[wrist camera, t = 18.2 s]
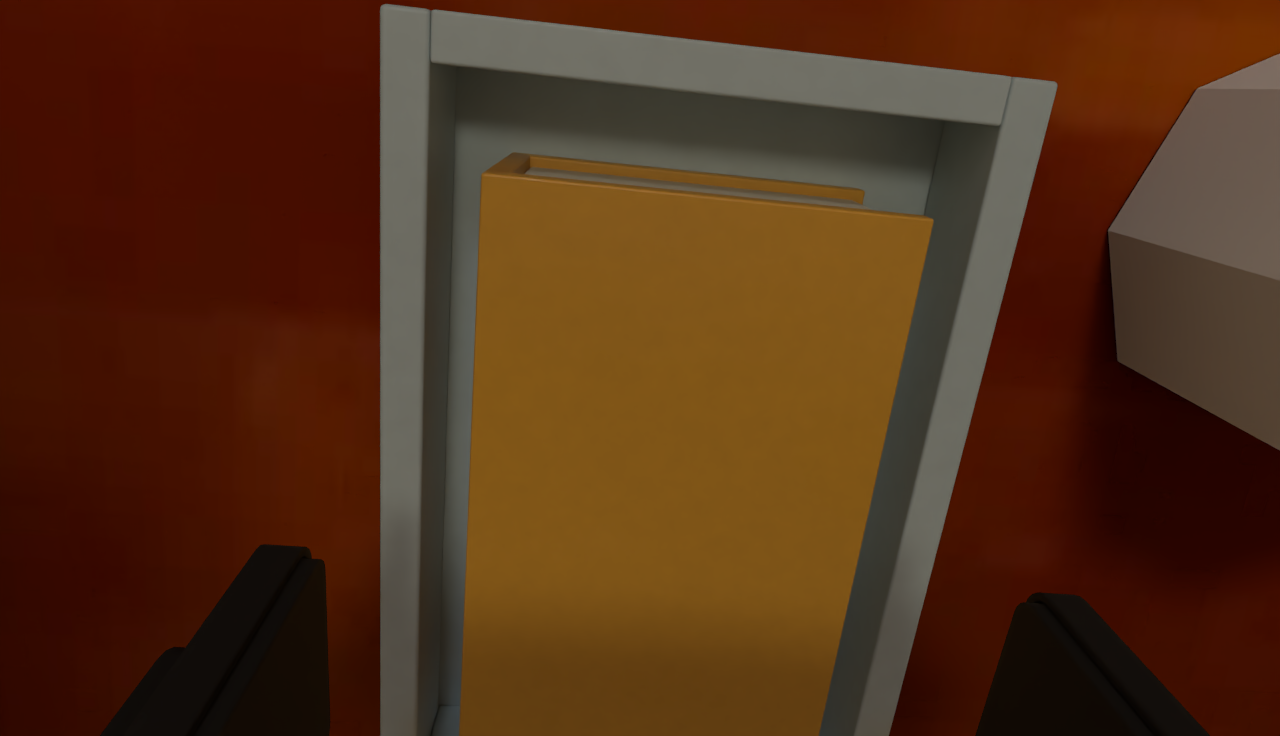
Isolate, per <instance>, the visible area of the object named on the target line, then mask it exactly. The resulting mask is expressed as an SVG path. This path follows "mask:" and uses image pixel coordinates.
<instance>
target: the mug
mask: <svg viewBox="0 0 1280 736" xmlns="http://www.w3.org/2000/svg"><path fill="white" fill-rule="evenodd" d="M1108 237H1109V251H1110V265H1111V279H1112V292H1113V306H1114V320H1115V334H1116V348H1117V361H1118V362H1120V363H1122V364H1124V365H1126V366H1127V367H1129V368H1131V369H1133V370H1135V371H1136V372H1138V373H1140V374H1142V375H1144V376H1145V377H1147V378H1149V379H1151V380H1153V381H1154V382H1156V383H1158V384H1160V385H1162V386H1163V387H1165V388H1167V389H1169V390H1171V391H1172V392H1174V393H1176V394H1178V395H1180V396H1182V397H1183V398H1185V399H1187V400H1189V401H1191V402H1192V403H1194V404H1196V405H1198V406H1200V407H1201V408H1203V409H1205V410H1207V411H1209V412H1210V413H1212V414H1214V415H1216V416H1218V417H1219V418H1221V419H1223V420H1225V421H1227V422H1229V423H1230V424H1232V425H1234V426H1236V427H1238V428H1239V429H1241V430H1243V431H1245V432H1247V433H1249V434H1250V435H1252V436H1254V437H1256V438H1258V439H1260V440H1261V441H1263V442H1265V443H1267V444H1269V445H1271V446H1272V447H1274V448H1276V449H1278V450H1280V54H1278V55H1275V56H1273V57H1271V58H1268V59H1266V60H1264V61H1261V62H1259V63H1256V64H1254V65H1252V66H1249V67H1247V68H1245V69H1242V70H1240V71H1237V72H1235V73H1233V74H1230V75H1228V76H1226V77H1223V78H1221V79H1219V80H1216V81H1214V82H1211V83H1209V84H1207V85H1204V86H1202V87H1200V88H1197V89H1196V91H1195V93H1194V94H1193V96H1192V97H1191V99H1190V100H1189V102H1188V104H1187V105H1186V107H1185V108H1184V110H1183V112H1182V113H1181V115H1180V116H1179V118H1178V120H1177V121H1176V123H1175V124H1174V126H1173V128H1172V129H1171V131H1170V132H1169V134H1168V136H1167V137H1166V139H1165V140H1164V142H1163V144H1162V145H1161V147H1160V148H1159V150H1158V151H1157V153H1156V155H1155V156H1154V158H1153V159H1152V161H1151V163H1150V164H1149V166H1148V167H1147V169H1146V171H1145V172H1144V174H1143V175H1142V177H1141V179H1140V180H1139V182H1138V183H1137V185H1136V187H1135V188H1134V190H1133V191H1132V193H1131V194H1130V196H1129V198H1128V199H1127V201H1126V202H1125V204H1124V206H1123V207H1122V209H1121V210H1120V212H1119V214H1118V215H1117V217H1116V218H1115V220H1114V222H1113V223H1112V225H1111V226H1110V228H1109V230H1108Z"/></svg>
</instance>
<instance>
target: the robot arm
mask: <svg viewBox="0 0 1280 736" xmlns="http://www.w3.org/2000/svg"><path fill="white" fill-rule="evenodd" d="M329 731H330V702H329V671H328V639H327V607H326V576H325V564H324V561H323V560H321V559H312V558H311V553H310V550H309V549H308V548H307V547H297V546H281V545H265V544H264V545H260V546H259V547H258V548H257V549H256V550H255V552H254V553H253V555H252V556H251V557H250V559H249V560H248V562H247V563H246V564H245V566H244V567H243V568H242V570H241V571H240V573H239V574H238V575H237V577H236V578H235V580H234V581H233V582H232V584H231V585H230V587H229V588H228V589H227V591H226V592H225V594H224V595H223V596H222V598H221V599H220V601H219V602H218V603H217V605H216V606H215V608H214V609H213V610H212V612H211V613H210V614H209V616H208V617H207V619H206V620H205V621H204V623H203V624H202V626H201V627H200V628H199V630H198V631H197V633H196V634H195V635H194V637H193V638H192V640H191V641H190V642H189V644H188V645H187V647H186V648H181V647H173V648H171V649H169V650H166V651H165V652H164V653H163V654H162V655H161V656H160V657H159V658H158V659H157V660H156V662H155V663H154V664H153V666H152V667H151V668H150V670H149V671H148V672H147V674H146V675H145V676H144V678H143V679H142V680H141V682H140V683H139V684H138V686H137V687H136V688H135V690H134V691H133V692H132V694H131V695H130V696H129V698H128V699H127V700H126V702H125V703H124V704H123V706H122V707H121V708H120V710H119V711H118V712H117V714H116V715H115V716H114V718H113V719H112V720H111V722H110V723H109V724H108V726H107V727H106V728H105V730H104V731H103V732H102V734H101V735H100V736H329ZM976 736H1210V735H1209V734H1208V733H1207V732H1206V731H1205V730H1204V729H1203V728H1202V727H1201V725H1200V724H1199V723H1198V722H1197V721H1196V720H1195V719H1194V718H1193V717H1192V716H1191V715H1190V714H1189V712H1188V711H1187V710H1186V709H1185V708H1184V707H1183V706H1182V705H1181V704H1180V703H1179V702H1178V700H1177V699H1176V698H1175V697H1174V696H1173V695H1172V694H1171V693H1170V692H1169V691H1168V690H1167V689H1166V687H1165V686H1164V685H1163V684H1162V683H1161V682H1160V681H1159V680H1158V679H1157V678H1156V677H1155V676H1154V674H1153V673H1152V672H1151V671H1150V670H1149V669H1148V668H1147V667H1146V666H1145V665H1144V664H1143V663H1142V661H1141V660H1140V659H1139V658H1138V657H1137V656H1136V655H1135V654H1134V653H1133V652H1132V651H1131V650H1130V648H1129V647H1128V646H1127V645H1126V644H1125V643H1124V642H1123V641H1122V640H1121V639H1120V638H1119V637H1118V635H1117V634H1116V633H1115V632H1114V631H1113V630H1112V629H1111V628H1110V627H1109V626H1108V625H1107V624H1106V622H1105V621H1104V620H1103V619H1102V618H1101V617H1100V616H1099V615H1098V614H1097V613H1096V612H1095V611H1094V609H1093V608H1092V607H1091V606H1090V605H1089V604H1088V603H1087V602H1086V601H1085V600H1084V599H1082V598H1081V597H1080V596H1076V595H1067V594H1051V593H1035V594H1032V595H1031V596H1030V597H1029V598H1028V599H1027V602H1026V603H1020V604H1019V605H1018V606H1017V608H1016V610H1015V612H1014V615H1013V618H1012V621H1011V624H1010V628H1009V631H1008V634H1007V637H1006V640H1005V643H1004V647H1003V650H1002V653H1001V656H1000V659H999V663H998V666H997V669H996V672H995V675H994V678H993V682H992V685H991V688H990V691H989V694H988V697H987V701H986V704H985V707H984V710H983V713H982V716H981V720H980V723H979V726H978V729H977V732H976Z"/></svg>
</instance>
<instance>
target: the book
mask: <svg viewBox="0 0 1280 736" xmlns="http://www.w3.org/2000/svg"><path fill="white" fill-rule="evenodd" d="M864 194H865V192H864V191H863V190H861V189H859V188H851V187H841V186H832V185H822V184H813V183H803V182H794V181H784V180H775V179H765V178H756V177H746V176H737V175H727V174H717V173H708V172H698V171H689V170H679V169H670V168H660V167H651V166H641V165H632V164H622V163H613V162H603V161H593V160H584V159H574V158H565V157H555V156H546V155H536V154H527V153H517V152H513V153H511V154H510V155H508V156H507V157H505V158H504V159H502V160H501V161H499V162H498V163H496V164H495V165H493V166H492V167H490V168H489V169H488V170H486V171H485V172H483V173H482V175H481V190H480V215H479V241H478V266H477V291H476V317H475V342H474V367H473V393H472V418H471V443H470V469H469V494H468V519H467V545H466V570H465V595H464V621H463V646H462V671H461V697H460V722H459V736H819V732H820V728H821V723H822V719H823V715H824V710H825V706H826V701H827V697H828V692H829V688H830V683H831V679H832V674H833V670H834V665H835V661H836V656H837V652H838V647H839V643H840V638H841V634H842V630H843V625H844V621H845V616H846V612H847V607H848V603H849V598H850V594H851V589H852V585H853V580H854V576H855V571H856V567H857V562H858V558H859V553H860V549H861V545H862V540H863V536H864V531H865V527H866V522H867V518H868V513H869V509H870V504H871V500H872V495H873V491H874V486H875V482H876V477H877V473H878V469H879V464H880V460H881V455H882V451H883V446H884V442H885V437H886V433H887V428H888V424H889V419H890V415H891V410H892V406H893V401H894V397H895V392H896V388H897V384H898V379H899V375H900V370H901V366H902V361H903V357H904V352H905V348H906V343H907V339H908V334H909V330H910V325H911V321H912V316H913V312H914V307H915V303H916V299H917V294H918V290H919V285H920V281H921V276H922V272H923V267H924V263H925V258H926V254H927V249H928V245H929V240H930V236H931V231H932V227H933V222H934V221H933V219H932V218H929V217H927V216H924V215H915V214H906V213H896V212H886V211H877V210H872V209H870V208H868V207H866V206H863V199H864Z"/></svg>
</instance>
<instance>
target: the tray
mask: <svg viewBox="0 0 1280 736" xmlns="http://www.w3.org/2000/svg"><path fill="white" fill-rule="evenodd" d="M1056 90H1057V83H1056V82H1054V81H1045V80H1037V79H1028V78H1019V77H1009V76H1003V75H994V74H985V73H977V72H968V71H960V70H951V69H942V68H934V67H925V66H917V65H908V64H899V63H891V62H882V61H873V60H865V59H856V58H848V57H839V56H830V55H822V54H813V53H805V52H796V51H787V50H779V49H770V48H761V47H753V46H744V45H736V44H727V43H718V42H710V41H701V40H693V39H684V38H675V37H667V36H658V35H650V34H641V33H632V32H624V31H615V30H606V29H598V28H589V27H581V26H572V25H563V24H555V23H546V22H538V21H529V20H520V19H512V18H503V17H494V16H486V15H477V14H469V13H460V12H451V11H443V10H432V11H430V10H428V9H424V8H416V7H407V6H399V5H390V4H384V5H382V6H381V8H380V736H459V722H460V697H461V671H462V646H463V621H464V595H465V570H466V545H467V519H468V494H469V469H470V443H471V418H472V393H473V367H474V342H475V317H476V291H477V266H478V241H479V215H480V190H481V175H482V173H483V172H485V171H486V170H488V169H489V168H490V167H492V166H493V165H495V164H496V163H498V162H499V161H501V160H502V159H504V158H505V157H507V156H508V155H510V154H511V153H513V152H517V153H527V154H536V155H546V156H555V157H565V158H574V159H584V160H593V161H603V162H613V163H622V164H632V165H641V166H651V167H660V168H670V169H679V170H689V171H698V172H708V173H717V174H727V175H737V176H746V177H756V178H765V179H775V180H784V181H794V182H803V183H813V184H822V185H832V186H841V187H851V188H859V189H861V190H863V191H864V192H865V194H864V199H863V206H866V207H868V208H870V209H872V210H877V211H886V212H896V213H906V214H915V215H924V216H927V217H929V218H932V219H933V221H934V222H933V227H932V231H931V236H930V240H929V245H928V249H927V254H926V258H925V263H924V267H923V272H922V276H921V281H920V285H919V290H918V294H917V299H916V303H915V307H914V312H913V316H912V321H911V325H910V330H909V334H908V339H907V343H906V348H905V352H904V357H903V361H902V366H901V370H900V375H899V379H898V384H897V388H896V392H895V397H894V401H893V406H892V410H891V415H890V419H889V424H888V428H887V433H886V437H885V442H884V446H883V451H882V455H881V460H880V464H879V469H878V473H877V477H876V482H875V486H874V491H873V495H872V500H871V504H870V509H869V513H868V518H867V522H866V527H865V531H864V536H863V540H862V545H861V549H860V553H859V558H858V562H857V567H856V571H855V576H854V580H853V585H852V589H851V594H850V598H849V603H848V607H847V612H846V616H845V621H844V625H843V630H842V634H841V638H840V643H839V647H838V652H837V656H836V661H835V665H834V670H833V674H832V679H831V683H830V688H829V692H828V697H827V701H826V706H825V710H824V715H823V719H822V723H821V728H820V732H819V736H889V733H890V729H891V726H892V722H893V718H894V714H895V710H896V706H897V702H898V699H899V695H900V691H901V687H902V683H903V679H904V675H905V672H906V668H907V664H908V660H909V656H910V652H911V648H912V645H913V641H914V637H915V633H916V629H917V625H918V622H919V618H920V614H921V610H922V606H923V602H924V598H925V595H926V591H927V587H928V583H929V579H930V575H931V571H932V568H933V564H934V560H935V556H936V552H937V548H938V545H939V541H940V537H941V533H942V529H943V525H944V521H945V518H946V514H947V510H948V506H949V502H950V498H951V494H952V491H953V487H954V483H955V479H956V475H957V471H958V467H959V464H960V460H961V456H962V452H963V448H964V444H965V441H966V437H967V433H968V429H969V425H970V421H971V417H972V414H973V410H974V406H975V402H976V398H977V394H978V390H979V387H980V383H981V379H982V375H983V371H984V367H985V364H986V360H987V356H988V352H989V348H990V344H991V340H992V337H993V333H994V329H995V325H996V321H997V317H998V313H999V310H1000V306H1001V302H1002V298H1003V294H1004V290H1005V286H1006V283H1007V279H1008V275H1009V271H1010V267H1011V263H1012V260H1013V256H1014V252H1015V248H1016V244H1017V240H1018V236H1019V233H1020V229H1021V225H1022V221H1023V217H1024V213H1025V209H1026V206H1027V202H1028V198H1029V194H1030V190H1031V186H1032V183H1033V179H1034V175H1035V171H1036V167H1037V163H1038V159H1039V156H1040V152H1041V148H1042V144H1043V140H1044V136H1045V132H1046V129H1047V125H1048V121H1049V117H1050V113H1051V109H1052V105H1053V102H1054V98H1055V94H1056Z"/></svg>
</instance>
